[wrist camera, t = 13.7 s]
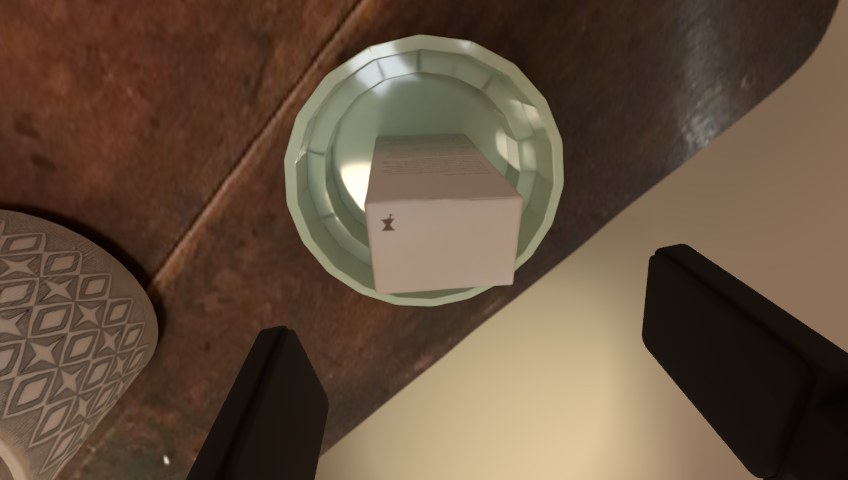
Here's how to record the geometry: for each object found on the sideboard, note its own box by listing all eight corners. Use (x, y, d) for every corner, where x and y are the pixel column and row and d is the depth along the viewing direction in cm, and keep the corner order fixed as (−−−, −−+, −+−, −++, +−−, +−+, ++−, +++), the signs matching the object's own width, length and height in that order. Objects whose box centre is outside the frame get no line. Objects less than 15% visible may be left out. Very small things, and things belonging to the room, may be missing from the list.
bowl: (518, 15, 22) (558, 1, 16) (534, 236, 29) (567, 277, 23) (273, 72, 22) (234, 78, 17) (347, 277, 29) (337, 327, 24)
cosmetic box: (380, 197, 26) (370, 297, 15) (375, 135, 24) (359, 199, 13) (465, 193, 26) (515, 288, 15) (467, 132, 24) (526, 192, 13)
